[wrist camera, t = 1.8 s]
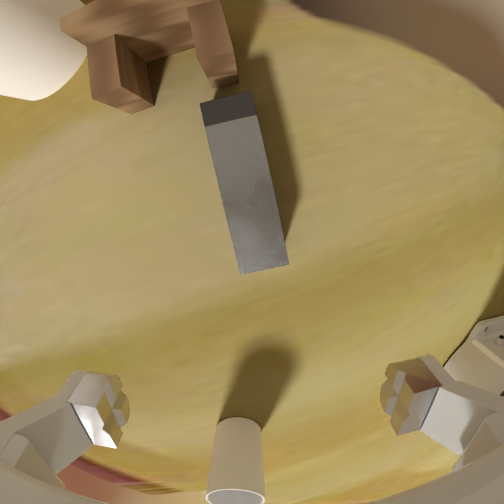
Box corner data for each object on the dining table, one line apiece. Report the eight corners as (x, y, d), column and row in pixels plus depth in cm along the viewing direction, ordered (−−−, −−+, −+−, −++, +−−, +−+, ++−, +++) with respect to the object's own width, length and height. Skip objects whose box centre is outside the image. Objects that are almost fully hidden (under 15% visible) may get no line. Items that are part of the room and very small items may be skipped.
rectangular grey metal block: (251, 104, 25) (250, 91, 20) (283, 247, 29) (289, 264, 24) (208, 114, 25) (199, 103, 20) (242, 256, 29) (240, 274, 24)
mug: (215, 412, 35) (205, 486, 23) (265, 416, 35) (269, 490, 23) (213, 452, 38) (206, 515, 26) (257, 455, 38) (257, 518, 26)
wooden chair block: (225, 30, 23) (210, -41, 11) (238, 82, 24) (229, 26, 13) (122, 62, 23) (60, 19, 12) (131, 114, 25) (63, 88, 13)
